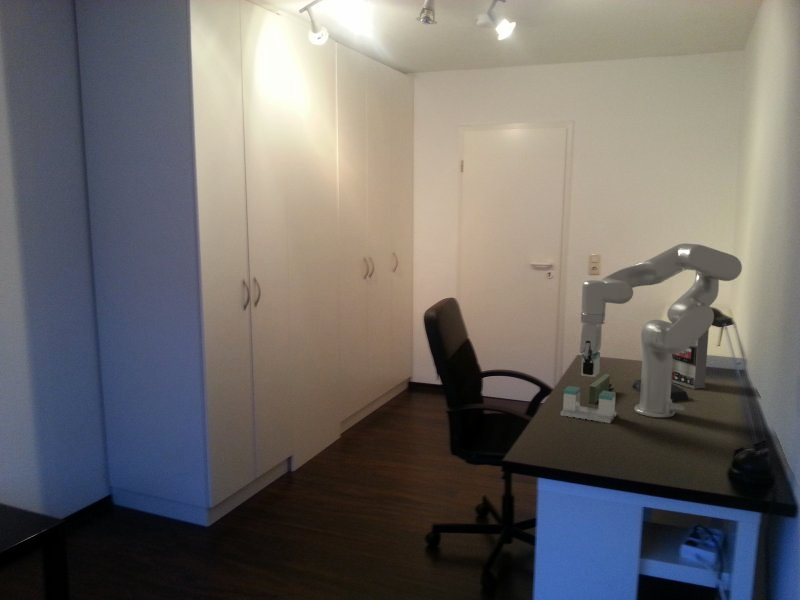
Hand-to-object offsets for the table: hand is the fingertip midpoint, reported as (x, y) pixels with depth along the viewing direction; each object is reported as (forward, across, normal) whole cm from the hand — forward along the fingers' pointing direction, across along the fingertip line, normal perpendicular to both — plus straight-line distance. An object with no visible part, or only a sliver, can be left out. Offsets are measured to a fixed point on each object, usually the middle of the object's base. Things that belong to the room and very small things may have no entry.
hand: (590, 371), depth 212 cm
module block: (+1, 0, 0) cm, 1 cm away
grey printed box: (+15, -60, +24) cm, 66 cm away
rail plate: (+15, 0, 0) cm, 15 cm away
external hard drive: (+16, -40, +17) cm, 46 cm away
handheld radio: (+15, -27, -2) cm, 31 cm away
